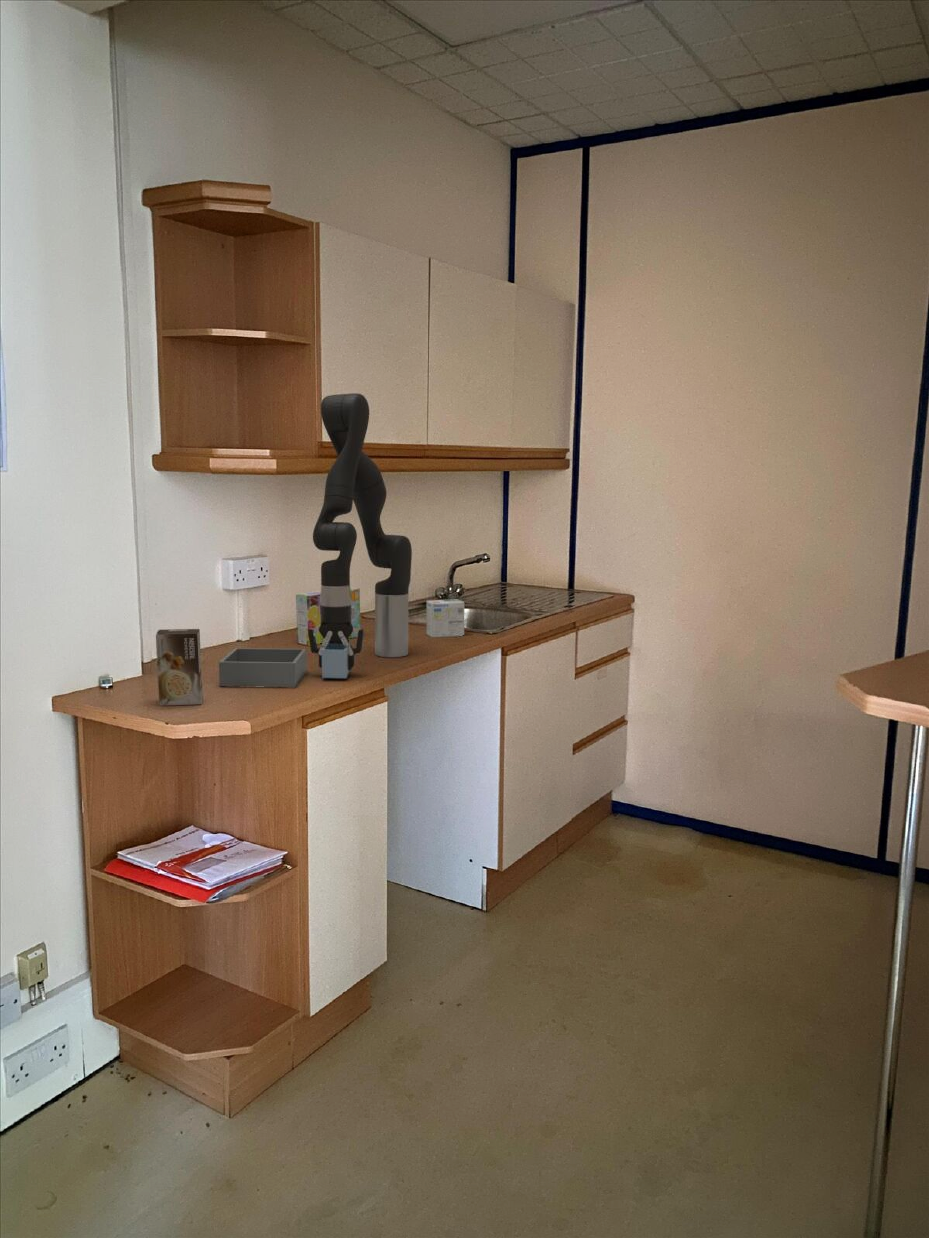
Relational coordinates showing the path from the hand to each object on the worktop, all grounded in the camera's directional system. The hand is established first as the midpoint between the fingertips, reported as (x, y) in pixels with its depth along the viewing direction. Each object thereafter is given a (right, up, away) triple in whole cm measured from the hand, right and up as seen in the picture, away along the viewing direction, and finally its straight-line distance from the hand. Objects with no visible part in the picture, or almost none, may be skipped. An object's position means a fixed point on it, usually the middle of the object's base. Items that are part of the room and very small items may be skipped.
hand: (336, 669), depth 244 cm
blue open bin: (0, -1, 0) cm, 1 cm away
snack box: (-8, +6, +47) cm, 49 cm away
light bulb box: (+26, +7, +58) cm, 64 cm away
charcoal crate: (-17, -2, -4) cm, 18 cm away
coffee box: (-31, -6, -27) cm, 41 cm away
